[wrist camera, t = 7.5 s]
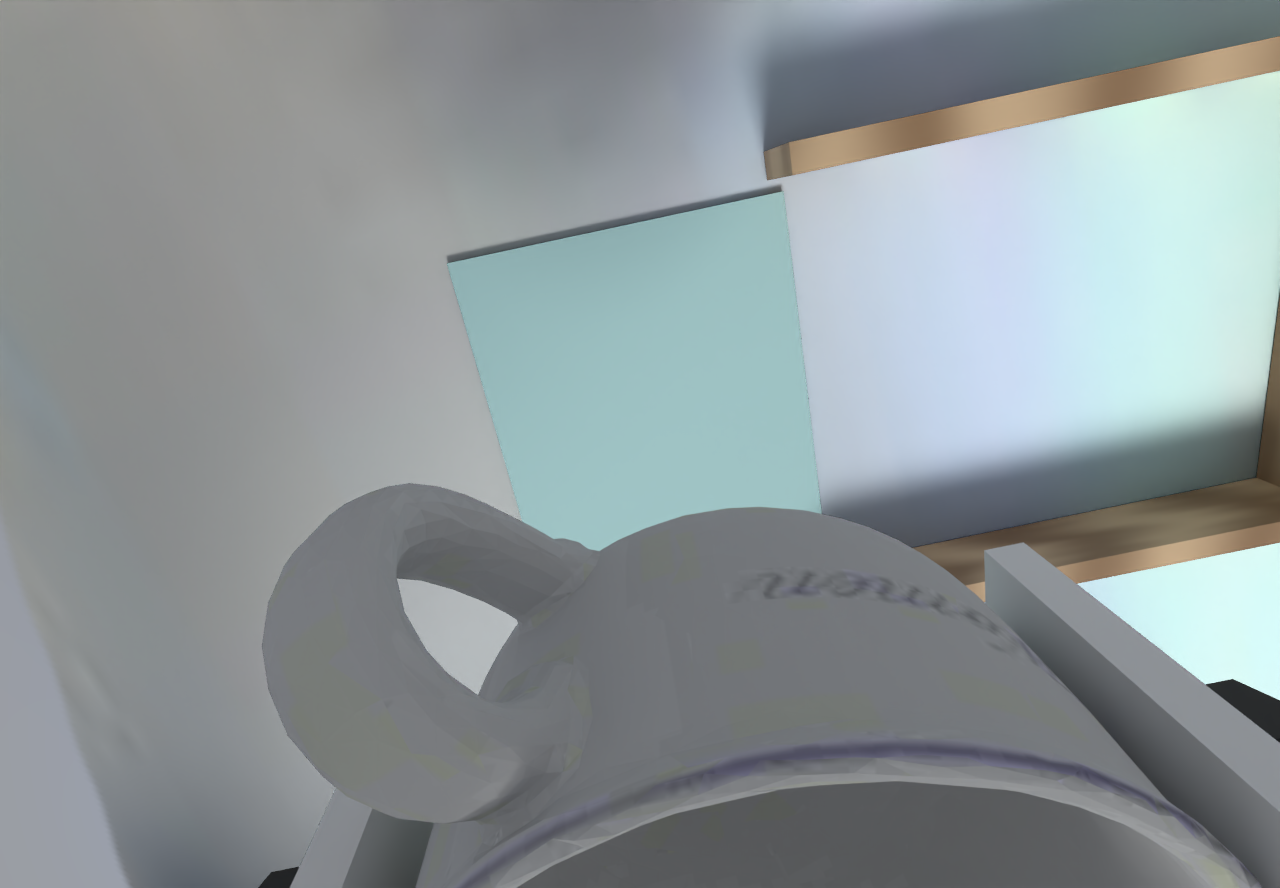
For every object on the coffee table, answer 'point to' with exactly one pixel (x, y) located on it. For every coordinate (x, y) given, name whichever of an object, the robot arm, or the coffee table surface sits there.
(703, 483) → the mat
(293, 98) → the coffee table surface
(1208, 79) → the cubby
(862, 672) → the teacup
